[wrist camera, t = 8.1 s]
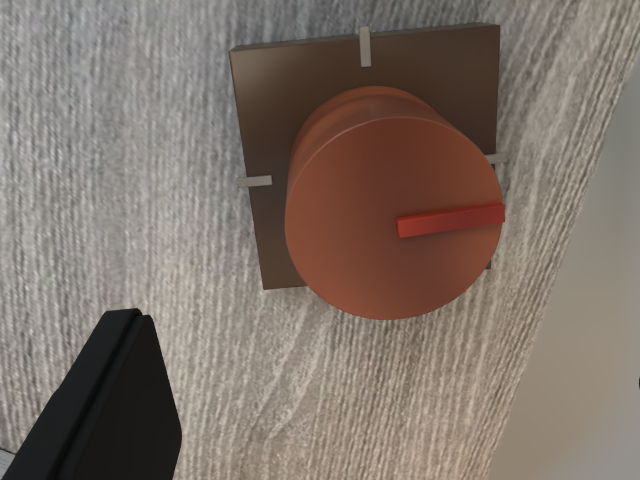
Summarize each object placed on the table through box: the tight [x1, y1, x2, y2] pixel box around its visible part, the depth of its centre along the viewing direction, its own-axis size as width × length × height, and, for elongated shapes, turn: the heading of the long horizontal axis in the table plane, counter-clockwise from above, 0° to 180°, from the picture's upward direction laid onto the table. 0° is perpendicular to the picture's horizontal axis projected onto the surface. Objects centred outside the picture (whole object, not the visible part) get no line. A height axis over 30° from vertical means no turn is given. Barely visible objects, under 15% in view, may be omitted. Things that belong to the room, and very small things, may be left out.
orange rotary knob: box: [285, 86, 505, 320], centre depth 19 cm, size 7×7×6 cm
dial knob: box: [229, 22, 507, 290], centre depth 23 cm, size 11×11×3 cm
